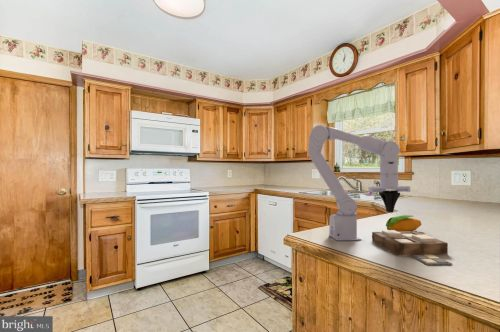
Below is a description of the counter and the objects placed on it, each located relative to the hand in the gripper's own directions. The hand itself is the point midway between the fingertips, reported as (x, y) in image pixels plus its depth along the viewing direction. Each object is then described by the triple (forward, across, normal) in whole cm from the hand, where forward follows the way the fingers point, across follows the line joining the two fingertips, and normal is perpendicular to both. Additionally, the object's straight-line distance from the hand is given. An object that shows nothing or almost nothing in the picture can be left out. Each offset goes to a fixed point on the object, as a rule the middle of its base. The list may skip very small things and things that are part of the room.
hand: (389, 211), depth 92 cm
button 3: (+9, +4, -5) cm, 11 cm away
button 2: (+9, -3, -12) cm, 15 cm away
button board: (+10, 0, -8) cm, 13 cm away
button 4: (+8, +4, -12) cm, 15 cm away
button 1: (+8, -3, -5) cm, 10 cm away
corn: (+11, +12, +10) cm, 19 cm away
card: (+10, 0, -20) cm, 22 cm away
